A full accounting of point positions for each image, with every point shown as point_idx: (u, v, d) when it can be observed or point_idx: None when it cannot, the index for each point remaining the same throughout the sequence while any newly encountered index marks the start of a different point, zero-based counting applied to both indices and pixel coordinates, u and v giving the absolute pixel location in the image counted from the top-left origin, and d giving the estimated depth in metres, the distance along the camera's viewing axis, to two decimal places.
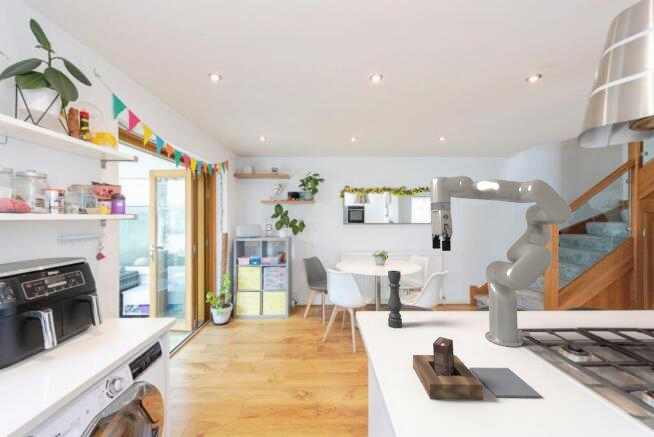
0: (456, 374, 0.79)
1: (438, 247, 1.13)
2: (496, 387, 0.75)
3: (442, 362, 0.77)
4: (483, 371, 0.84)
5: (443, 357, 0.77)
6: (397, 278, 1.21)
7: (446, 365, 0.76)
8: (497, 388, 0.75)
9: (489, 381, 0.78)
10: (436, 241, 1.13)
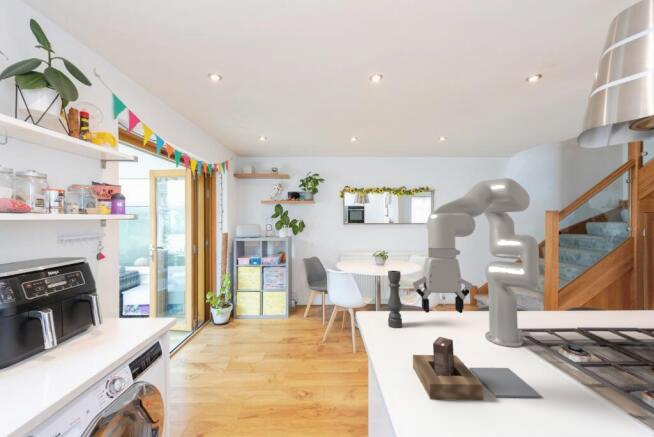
0: (456, 374, 0.79)
1: None
2: (496, 387, 0.75)
3: (442, 362, 0.77)
4: (483, 371, 0.84)
5: (443, 357, 0.77)
6: (397, 278, 1.21)
7: (446, 365, 0.76)
8: (497, 388, 0.75)
9: (489, 381, 0.78)
10: None
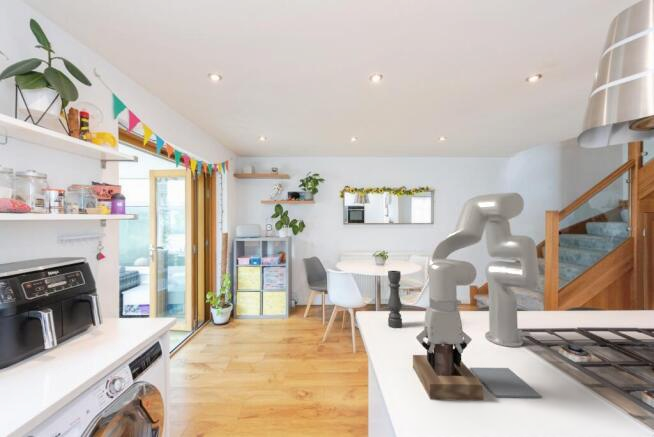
0: (456, 374, 0.79)
1: None
2: (496, 387, 0.75)
3: (442, 362, 0.77)
4: (483, 371, 0.84)
5: (443, 357, 0.77)
6: (397, 278, 1.21)
7: (446, 365, 0.76)
8: (497, 388, 0.75)
9: (489, 381, 0.78)
10: None
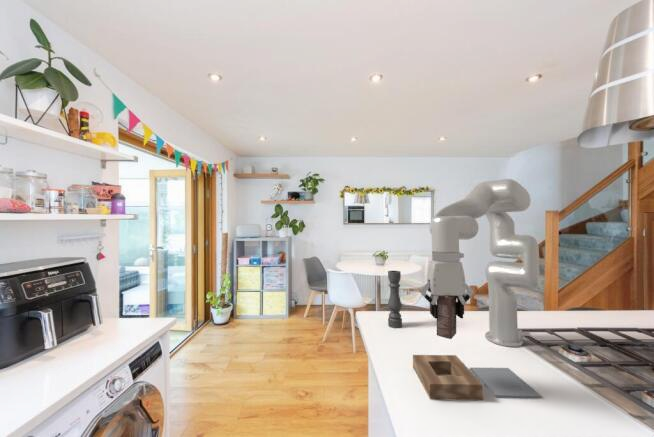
0: (456, 374, 0.79)
1: None
2: (496, 387, 0.75)
3: (445, 314, 0.78)
4: (483, 371, 0.84)
5: (446, 308, 0.77)
6: (397, 278, 1.21)
7: (449, 316, 0.77)
8: (497, 388, 0.75)
9: (489, 381, 0.78)
10: None
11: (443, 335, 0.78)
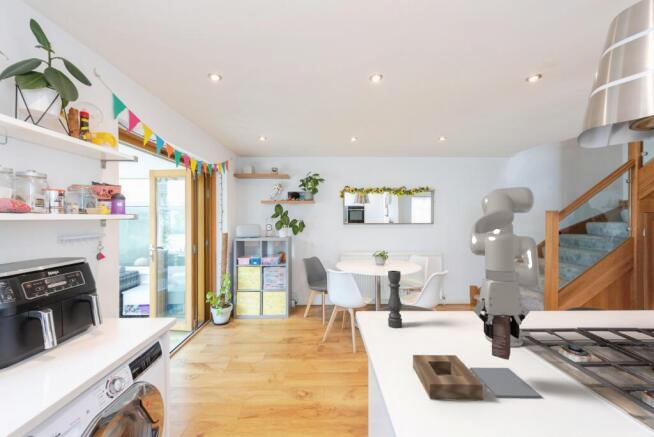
0: (456, 374, 0.79)
1: None
2: (496, 387, 0.75)
3: (501, 334, 0.77)
4: (483, 371, 0.84)
5: (503, 328, 0.76)
6: (397, 278, 1.21)
7: (506, 336, 0.76)
8: (497, 388, 0.75)
9: (489, 381, 0.78)
10: None
11: (499, 355, 0.77)
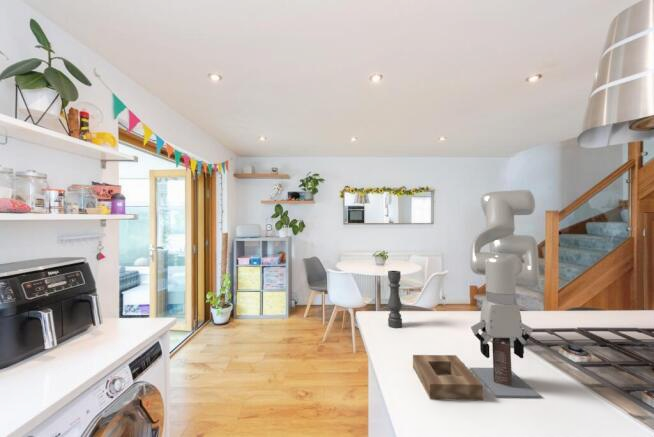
0: (456, 374, 0.79)
1: None
2: (496, 387, 0.75)
3: (502, 360, 0.77)
4: (483, 371, 0.84)
5: (504, 355, 0.76)
6: (397, 278, 1.21)
7: (507, 363, 0.76)
8: (497, 388, 0.75)
9: (489, 381, 0.78)
10: None
11: (501, 382, 0.77)
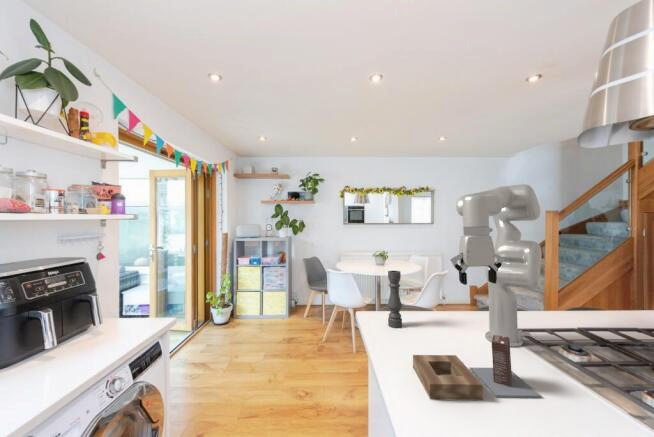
0: (456, 374, 0.79)
1: None
2: (496, 387, 0.75)
3: (502, 360, 0.77)
4: (483, 371, 0.84)
5: (503, 355, 0.76)
6: (397, 278, 1.21)
7: (507, 363, 0.76)
8: (497, 388, 0.75)
9: (489, 381, 0.78)
10: None
11: (501, 382, 0.77)
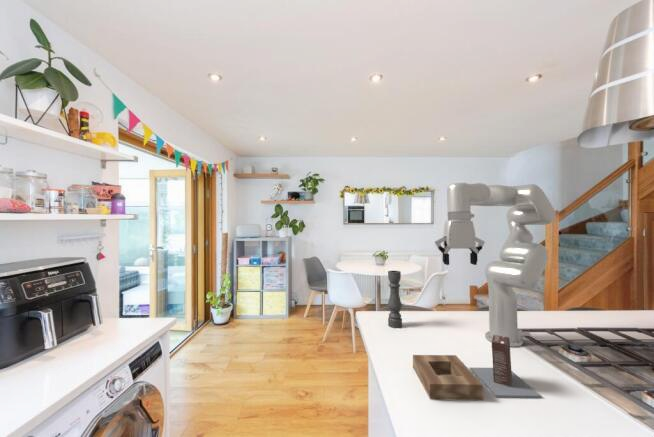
0: (456, 374, 0.79)
1: None
2: (496, 387, 0.75)
3: (502, 360, 0.77)
4: (483, 371, 0.84)
5: (503, 355, 0.76)
6: (397, 278, 1.21)
7: (507, 363, 0.76)
8: (497, 388, 0.75)
9: (489, 381, 0.78)
10: None
11: (501, 382, 0.77)
